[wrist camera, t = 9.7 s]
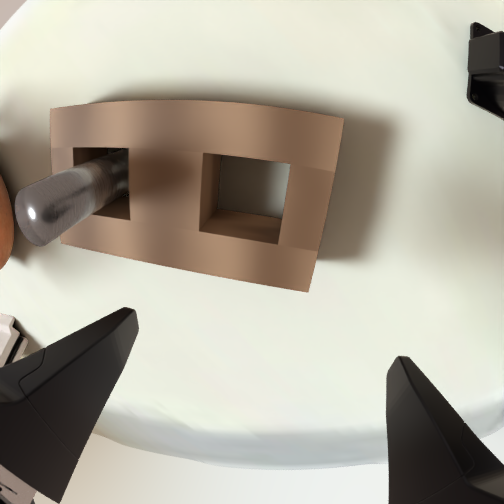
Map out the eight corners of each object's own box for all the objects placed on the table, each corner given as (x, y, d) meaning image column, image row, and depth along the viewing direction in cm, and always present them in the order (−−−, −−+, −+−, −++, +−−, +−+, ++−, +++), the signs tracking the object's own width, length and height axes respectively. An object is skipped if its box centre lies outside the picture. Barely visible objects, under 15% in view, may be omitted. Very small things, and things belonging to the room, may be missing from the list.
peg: (149, 148, 19) (47, 189, 10) (149, 188, 20) (57, 251, 12) (115, 147, 19) (11, 186, 10) (115, 185, 21) (21, 241, 12)
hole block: (335, 117, 16) (344, 118, 13) (308, 260, 21) (308, 292, 17) (85, 104, 18) (50, 108, 14) (90, 223, 23) (61, 243, 19)
